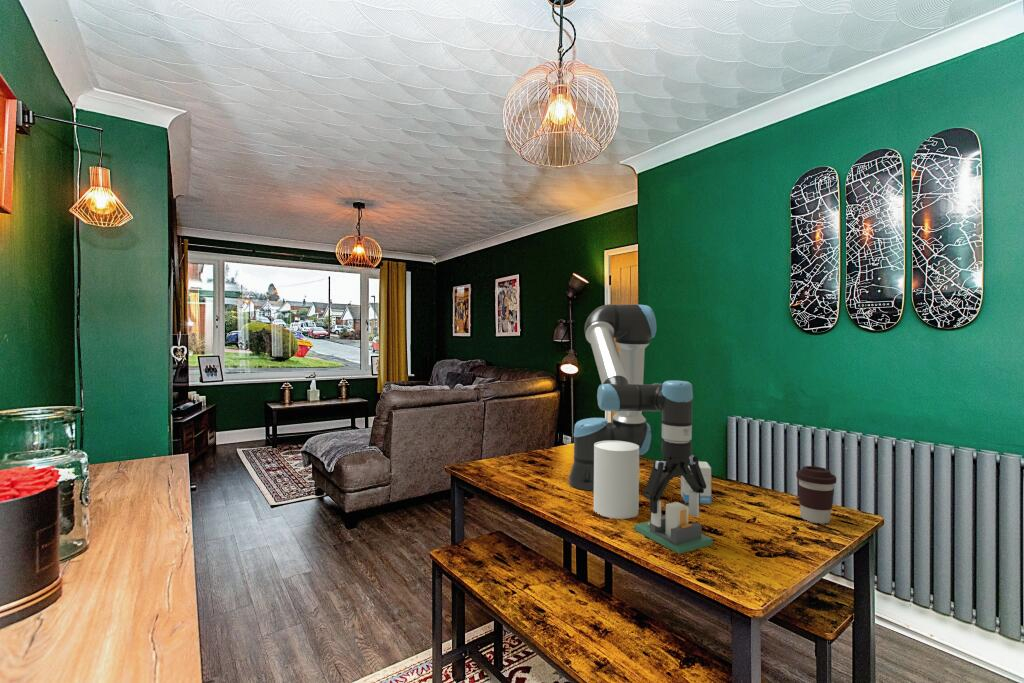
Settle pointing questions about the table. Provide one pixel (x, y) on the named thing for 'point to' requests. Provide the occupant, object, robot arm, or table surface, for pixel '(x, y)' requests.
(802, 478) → the coffee cup
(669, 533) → the plug
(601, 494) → the canister
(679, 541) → the board
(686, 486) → the ink box
